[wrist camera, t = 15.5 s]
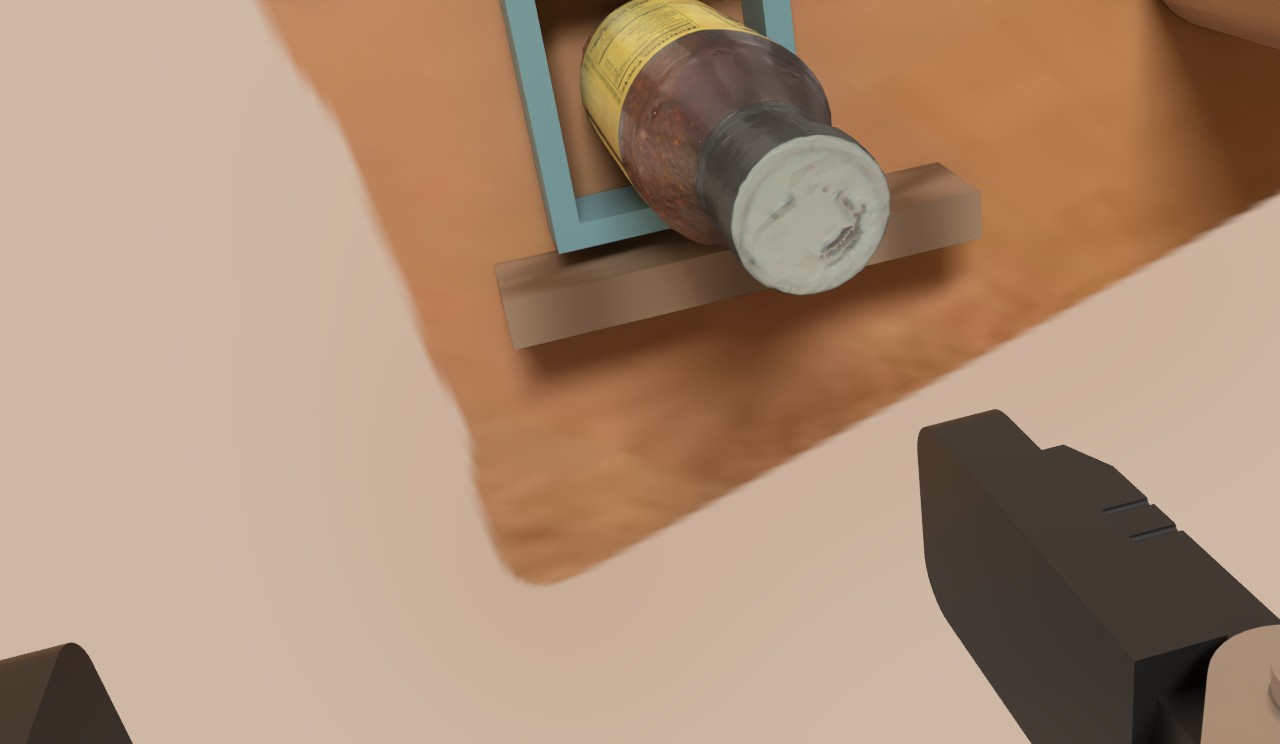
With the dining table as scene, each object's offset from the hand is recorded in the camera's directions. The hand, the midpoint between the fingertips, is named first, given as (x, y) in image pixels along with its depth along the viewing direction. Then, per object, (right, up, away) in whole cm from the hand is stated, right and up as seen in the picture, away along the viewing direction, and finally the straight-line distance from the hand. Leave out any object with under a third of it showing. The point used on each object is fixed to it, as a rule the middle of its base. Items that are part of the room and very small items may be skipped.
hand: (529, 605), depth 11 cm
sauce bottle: (+1, +14, +35) cm, 37 cm away
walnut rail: (+4, +8, +38) cm, 39 cm away
